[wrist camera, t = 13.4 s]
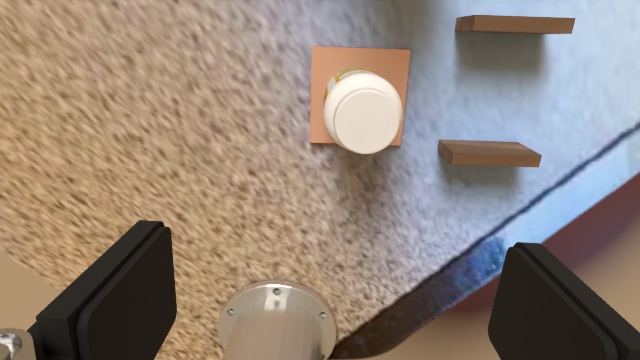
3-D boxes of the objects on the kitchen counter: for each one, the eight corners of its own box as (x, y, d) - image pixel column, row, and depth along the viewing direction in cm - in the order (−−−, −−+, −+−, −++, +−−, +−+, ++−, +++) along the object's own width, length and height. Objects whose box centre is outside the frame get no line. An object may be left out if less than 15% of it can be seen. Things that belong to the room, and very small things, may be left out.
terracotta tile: (399, 143, 34) (400, 145, 33) (310, 140, 34) (309, 142, 33) (409, 49, 31) (410, 49, 31) (312, 46, 31) (311, 46, 31)
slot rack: (515, 153, 34) (538, 167, 30) (437, 150, 34) (451, 164, 30) (544, 20, 30) (575, 18, 27) (456, 17, 30) (475, 14, 27)
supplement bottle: (358, 142, 33) (371, 182, 24) (310, 104, 32) (304, 130, 23) (400, 94, 32) (430, 116, 23) (351, 52, 31) (362, 58, 22)
